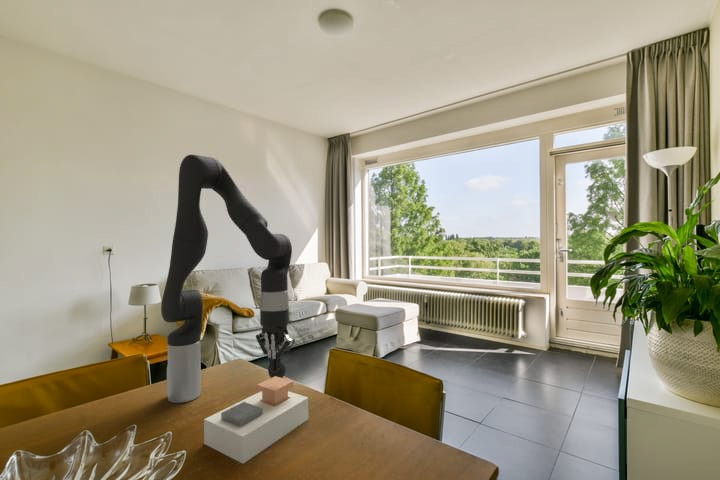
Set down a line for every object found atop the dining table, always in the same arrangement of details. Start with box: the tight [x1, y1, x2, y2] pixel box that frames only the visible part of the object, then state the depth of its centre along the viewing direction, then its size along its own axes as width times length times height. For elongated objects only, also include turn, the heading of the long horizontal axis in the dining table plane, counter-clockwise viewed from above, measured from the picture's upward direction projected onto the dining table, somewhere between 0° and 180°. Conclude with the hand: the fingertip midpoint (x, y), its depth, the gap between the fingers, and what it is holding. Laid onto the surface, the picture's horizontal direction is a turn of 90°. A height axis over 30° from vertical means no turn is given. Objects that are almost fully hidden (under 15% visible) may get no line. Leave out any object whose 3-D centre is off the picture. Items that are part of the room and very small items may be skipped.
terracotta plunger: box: [256, 376, 294, 406], centre depth 94 cm, size 7×7×6 cm
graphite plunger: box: [221, 402, 263, 427], centre depth 85 cm, size 7×7×6 cm
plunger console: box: [203, 390, 309, 464], centre depth 89 cm, size 14×22×6 cm, turn 148°
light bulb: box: [267, 360, 287, 379], centre depth 112 cm, size 6×6×10 cm
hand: (275, 371), depth 94 cm, fingers closed
